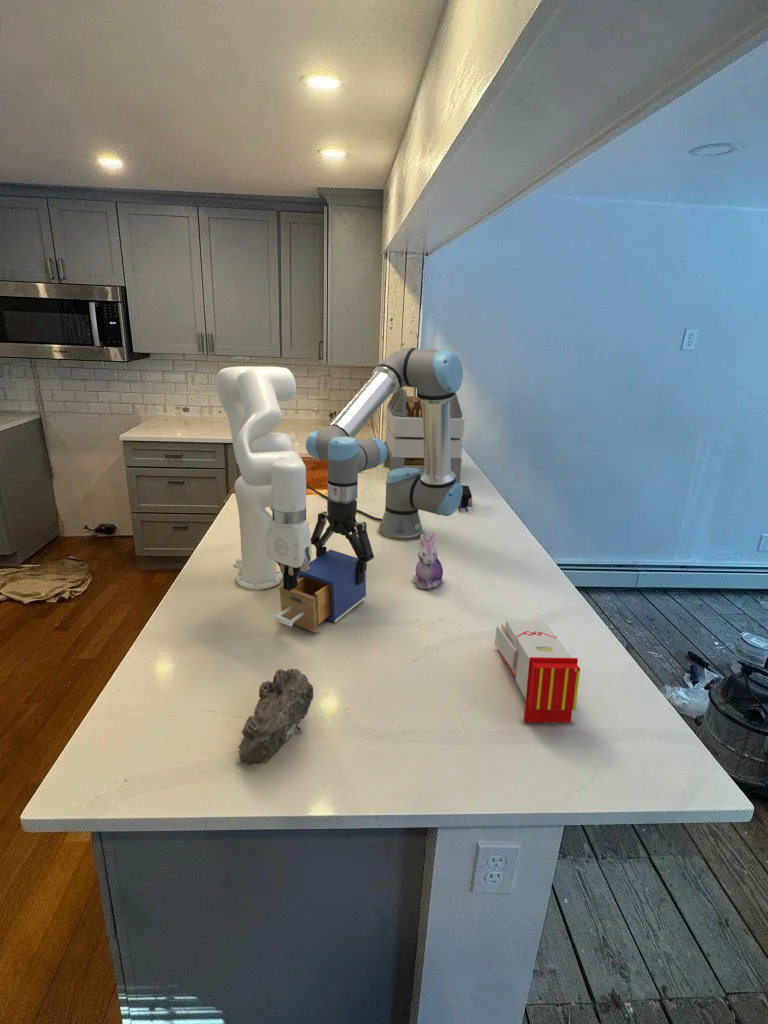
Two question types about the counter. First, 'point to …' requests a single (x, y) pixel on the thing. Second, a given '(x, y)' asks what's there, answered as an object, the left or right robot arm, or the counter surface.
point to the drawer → (305, 604)
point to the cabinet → (338, 581)
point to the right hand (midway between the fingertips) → (340, 576)
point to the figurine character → (465, 498)
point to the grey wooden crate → (417, 432)
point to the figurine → (428, 565)
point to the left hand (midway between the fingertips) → (290, 587)
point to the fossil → (275, 716)
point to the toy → (540, 670)
